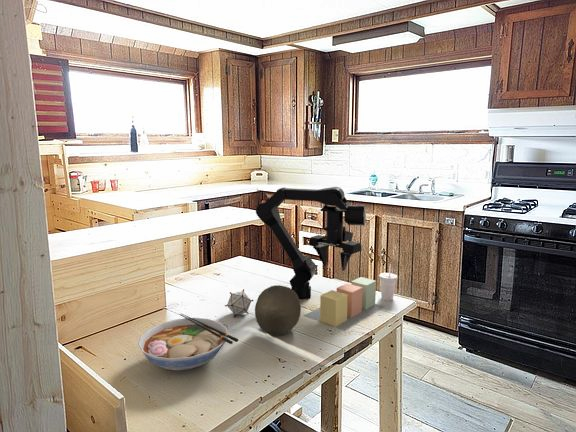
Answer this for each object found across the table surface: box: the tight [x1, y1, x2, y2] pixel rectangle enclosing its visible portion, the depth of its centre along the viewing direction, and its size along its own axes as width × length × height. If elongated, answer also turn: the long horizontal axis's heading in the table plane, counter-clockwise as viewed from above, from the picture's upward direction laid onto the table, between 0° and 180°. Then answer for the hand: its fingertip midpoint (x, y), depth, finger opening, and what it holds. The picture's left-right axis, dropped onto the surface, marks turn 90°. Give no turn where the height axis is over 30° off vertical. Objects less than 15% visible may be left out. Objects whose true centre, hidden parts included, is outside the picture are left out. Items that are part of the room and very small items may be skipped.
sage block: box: [350, 276, 377, 309], centre depth 144 cm, size 6×6×8 cm
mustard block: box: [319, 289, 348, 328], centre depth 132 cm, size 6×6×8 cm
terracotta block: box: [336, 283, 362, 318], centre depth 138 cm, size 6×6×8 cm
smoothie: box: [378, 263, 398, 301], centre depth 150 cm, size 6×6×14 cm
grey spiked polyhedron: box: [224, 288, 254, 318], centre depth 140 cm, size 9×8×10 cm
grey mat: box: [303, 303, 385, 331], centre depth 140 cm, size 16×24×1 cm, turn 138°
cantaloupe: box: [254, 284, 302, 337], centre depth 125 cm, size 14×14×15 cm
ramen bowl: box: [137, 313, 239, 371], centre depth 110 cm, size 25×23×8 cm
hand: (334, 267), depth 147 cm, fingers open, 8 cm apart
